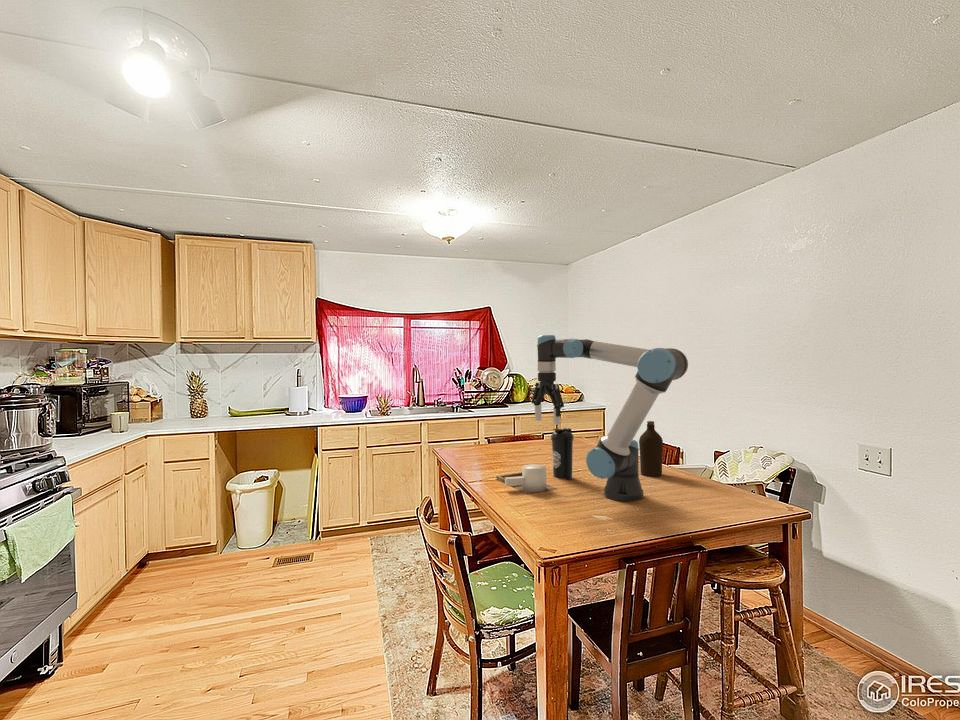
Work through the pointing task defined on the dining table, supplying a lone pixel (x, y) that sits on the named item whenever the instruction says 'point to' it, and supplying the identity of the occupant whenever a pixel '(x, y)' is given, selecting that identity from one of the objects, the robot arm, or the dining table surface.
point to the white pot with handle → (530, 478)
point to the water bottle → (562, 453)
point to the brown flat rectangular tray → (520, 487)
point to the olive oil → (651, 452)
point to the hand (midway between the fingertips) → (547, 422)
